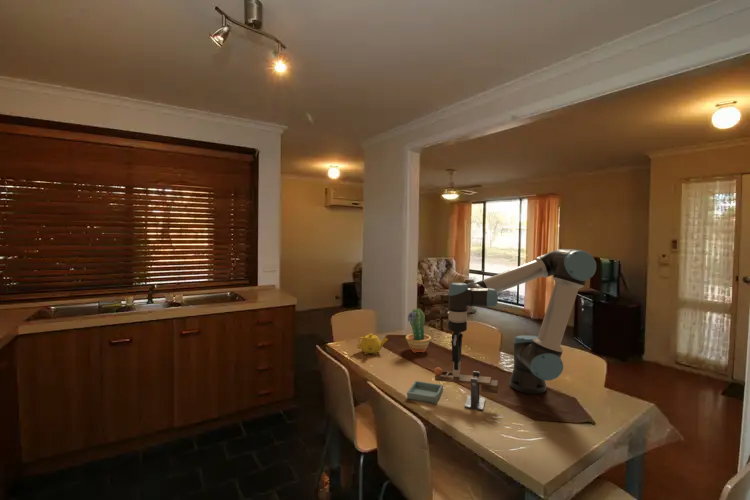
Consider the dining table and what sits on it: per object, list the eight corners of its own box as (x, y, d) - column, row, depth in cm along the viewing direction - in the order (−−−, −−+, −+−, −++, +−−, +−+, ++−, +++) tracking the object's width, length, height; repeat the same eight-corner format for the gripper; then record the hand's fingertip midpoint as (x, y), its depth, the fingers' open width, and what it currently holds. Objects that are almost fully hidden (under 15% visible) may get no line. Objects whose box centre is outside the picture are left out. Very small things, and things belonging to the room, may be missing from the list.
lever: (498, 387, 141) (497, 374, 141) (497, 393, 136) (496, 380, 136) (438, 381, 151) (437, 370, 151) (435, 387, 145) (434, 375, 145)
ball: (443, 367, 148) (435, 365, 150) (442, 370, 145) (433, 367, 147) (442, 375, 149) (434, 372, 150) (440, 378, 146) (432, 375, 147)
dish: (442, 391, 154) (442, 385, 154) (436, 404, 142) (436, 397, 142) (415, 386, 159) (415, 380, 159) (407, 398, 147) (407, 392, 147)
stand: (485, 399, 146) (485, 371, 145) (482, 411, 136) (482, 381, 136) (468, 396, 148) (468, 369, 148) (464, 407, 139) (464, 378, 138)
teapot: (370, 358, 195) (370, 339, 194) (354, 352, 204) (354, 334, 204) (388, 352, 205) (388, 333, 204) (372, 347, 214) (372, 329, 214)
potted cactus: (403, 346, 215) (403, 306, 213) (427, 345, 216) (427, 305, 215) (408, 355, 199) (408, 312, 198) (434, 354, 201) (434, 311, 200)
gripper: (451, 316, 151) (450, 369, 152) (445, 323, 139) (444, 380, 140) (469, 317, 148) (467, 371, 149) (464, 325, 136) (463, 384, 137)
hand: (456, 376), depth 145 cm, fingers closed
